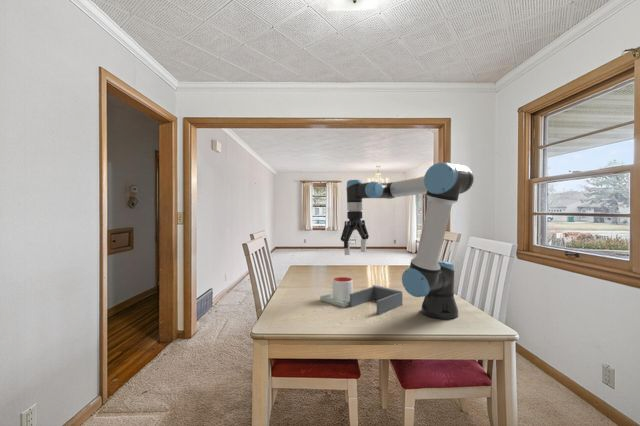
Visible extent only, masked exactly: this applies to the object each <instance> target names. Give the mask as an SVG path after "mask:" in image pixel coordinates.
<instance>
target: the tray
mask: <svg viewBox="0 0 640 426" xmlns="http://www.w3.org/2000/svg"><path fill="white" fill-rule="evenodd" d="M319 301H320V302H324V303H328V304H330V305H334V306H336V307H337V306H338V307H340V308H344V309H345V308H347V307H350V301H338V300H335V299H334V298H333V292H330V293H327V294H324V295H320V296H319Z"/></svg>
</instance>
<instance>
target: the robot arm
mask: <svg viewBox="0 0 640 426" xmlns="http://www.w3.org/2000/svg"><path fill="white" fill-rule="evenodd" d="M474 180H475V179H474V174H473V171H472V170H471V169H470V168H469V167H468V166H467V165H464V164H457V163H451V162H445V161H444V162H437V163H435V164H432V165H431V166H429V168H428V169H427V170H426V172H425V174H424V176H423V177H417V178H416V177H415V178H411V179H404V180H397V181H392V182H385V183H384V182H379V181H369V182H362V180H361V179H350V180H347V181H346V189H345V190H346V206H347V209H346V210H347V212H346V215H347V216H346V217H347V218H346V219H347V220H345V221H344V223H343V225H344V226H343V230H342V233H341V236H340V241H341V242H343V248H344V249H343V250H344V251H343V252H344V256H350V255H351V251H350V250H351V249H350V248H351V246H350V245H351V244H350V243H351V242H350V241H349V240H350V238H351V236H352V235H353V232H354V231H357V232H358V234H359V237H360V238H361V239H360V252H361V253H367V240H368V239H369V238H370V235H369V232H368V229H367V226H366V221H365V219H363V199H386V200H387V199H388V200H389V199H394V198H400V197H408V196H416V195H418V196H419V195H425V196H426V198H427V199H428V202H427V207H426V212H425V217H424V220H423V224H422V227H421V228H422V229H421V233H420V239H419V242H418V247H417V251H416V255H415V257H412V258H411V260H410V263H409V267H408V268H406V270H404V271H403V272H402V275H401V283H402V286H403V287H404V290H405V291H406V292H407V293H408V294H409V295H410V296H412V297H415V298H421V297H422V298H423V301H422V303H421V307H420V308H421V310H420V311H421V313H422V314H423V315H424V316H426V317H430V318H433V319H439V320H440V319H441V320H452V319H455V318H457V317H459V308H458V305H457V303H456V302H457V301H456V300H455V265H454V263H453V262H450V261H444V260H439V258H440V254H441V251H442V246H443V242H444V239H445V234H446V230H447V226H448V224H449V223H448V222H449V219H450V214H451V212H452V211H451V210H452V206H453V204H456V203H457V202H458V200H459V195H460V194H464V193H466V192H468V191H469V190H470V189H471V187H472V186H473V184H474Z"/></svg>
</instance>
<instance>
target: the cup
mask: <svg viewBox="0 0 640 426" xmlns="http://www.w3.org/2000/svg"><path fill="white" fill-rule="evenodd" d="M353 281H354V280H353V278H352V277H347V276H346V277H345V276H340V277H333V278H332V293H333V298H334V299H335V300H338V301H350V294H351V293H354V289H353V287H354V286H353V285H354V282H353Z"/></svg>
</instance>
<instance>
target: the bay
mask: <svg viewBox="0 0 640 426" xmlns="http://www.w3.org/2000/svg"><path fill="white" fill-rule="evenodd" d="M373 300H376V315H377V316H378V315H382V314H384V313H387V312H390V311H392V310H394V309H397V308H399V307H402V305H403V290H402V289H401V290H399V289H396V288H392V287H386V286H381V285H376V284H373V285H372V286H370V287H368V288H365V289H362V290H358V291H355V292H354V291H353V293H351V294H350V306H349V308H353V307H354V308H355V307H356V306H359V305H361V304H364V303H367V302H369V301H373Z"/></svg>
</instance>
